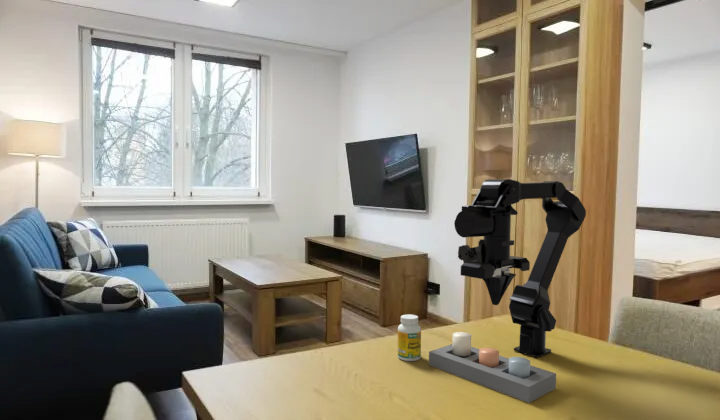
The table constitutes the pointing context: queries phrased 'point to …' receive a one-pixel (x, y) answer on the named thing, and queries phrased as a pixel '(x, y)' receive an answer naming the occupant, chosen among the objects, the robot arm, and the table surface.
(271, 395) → the table surface
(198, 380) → the table surface
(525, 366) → the slate button
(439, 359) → the grey socket tray
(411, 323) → the supplement bottle
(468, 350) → the white short cylinder
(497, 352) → the peach rounded piece
